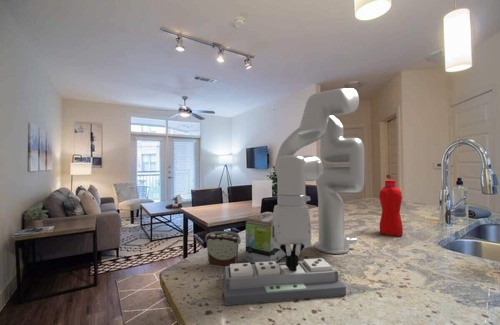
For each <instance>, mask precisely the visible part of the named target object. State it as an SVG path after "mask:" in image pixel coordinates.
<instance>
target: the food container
mask: <svg viewBox="0 0 500 325" xmlns="http://www.w3.org/2000/svg"><path fill="white" fill-rule="evenodd" d="M204 237H205V238H204V241H206V248H207V249H206V250H207V259H208V266H212V267H216V268H217V267H218V268H225V266H230V264H238V256H239V255H238V254H239V245H240V244H241V243H242V240H241V237H240V235H239V233H238V232H234V231H227V230H217V231H211V232H209V233H206V234H205V236H204Z"/></svg>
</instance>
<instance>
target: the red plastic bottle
mask: <svg viewBox="0 0 500 325" xmlns="http://www.w3.org/2000/svg"><path fill="white" fill-rule="evenodd" d="M396 182H397V181H396V180H394V179H385V180H384V186H383V187H382V188H381V189H380V191H379V195H378V198H379V201H380V202H379V203H380V205H381V206H380V207H381V215H380V216H381V217H380V221H379V232H380V233H381V234H382V235H384V234H385V236H392V237H393V236H395V237H401V236H402V235H403V231H404V230H403V228H404V227H403V222H402V216H401V214H400V213H401V212H400V211H401V206H402V202H403V194H402V193H403V192H402V191H401V190H400V189H399V187H397V185H396V184H397V183H396Z"/></svg>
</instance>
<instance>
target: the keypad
mask: <svg viewBox="0 0 500 325" xmlns="http://www.w3.org/2000/svg"><path fill="white" fill-rule="evenodd" d="M327 263H328V262H327ZM250 264H251V267H252V270H253V276H250V277H236V278H231V277H230V266H225V270H223V273H222V274H223V277H222V278H223V295H224V296H223V297H224V299H223V300H224V306H232V305H245V304H256V303H267V302H268V303H270V302H280V301H282V302H283V301H292V300H304V299H317V298H318V299H319V298H327V297H339V296H346V295H347V287H346V285H345V284H343V283H342V282H341V281H340V280H339V271H337V269H335V268H334V267H333V266H332V265H331V264H330V263H328V264H329V265H330V266H331V271H322V272H310V271H309V270H308V269H307V267H306V266H305V265H304V260H302V261H301V260H300V261H299V260H298V264H299V265H300V266H301V267H302V269H303V270H304V271H305V272H306V273H293V274H284V272H283V271H282V269H281V268H280V265H286V261H284V262H276V264H277V266H278V267H279V269H280V274H279V275H264V276H257V273H256V270H255V264H254V263H250Z"/></svg>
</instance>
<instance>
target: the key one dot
mask: <svg viewBox="0 0 500 325" xmlns="http://www.w3.org/2000/svg"><path fill="white" fill-rule="evenodd" d="M280 268H281V269H282V271H283V272H284V274H293V273H306V272H305V271H304V270H303V269H302V267H301V266H300V265H299V264H298V266H297V270H296V271H294V270H293V271H290V270H289V268H288V267H287V266H286V265H280Z"/></svg>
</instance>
